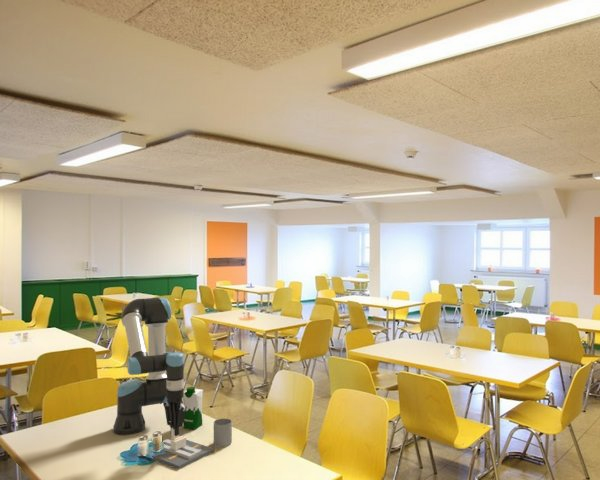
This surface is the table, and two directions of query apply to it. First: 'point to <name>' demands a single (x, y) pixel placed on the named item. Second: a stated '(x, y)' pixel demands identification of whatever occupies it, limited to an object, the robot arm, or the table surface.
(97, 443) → the table surface
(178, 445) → the fader
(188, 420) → the milk carton
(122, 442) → the table surface
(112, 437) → the table surface
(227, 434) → the cup
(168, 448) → the console
